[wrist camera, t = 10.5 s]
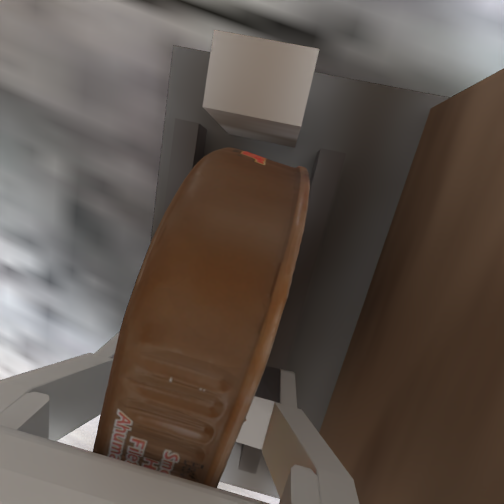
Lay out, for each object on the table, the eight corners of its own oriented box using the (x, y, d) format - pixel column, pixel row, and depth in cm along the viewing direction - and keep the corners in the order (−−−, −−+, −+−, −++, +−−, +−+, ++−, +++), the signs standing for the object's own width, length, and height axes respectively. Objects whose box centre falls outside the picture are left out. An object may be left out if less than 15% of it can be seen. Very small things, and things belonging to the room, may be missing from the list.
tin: (200, 431, 15) (148, 717, 7) (146, 418, 15) (28, 703, 7) (291, 174, 12) (399, 164, 3) (222, 150, 11) (158, 76, 3)
